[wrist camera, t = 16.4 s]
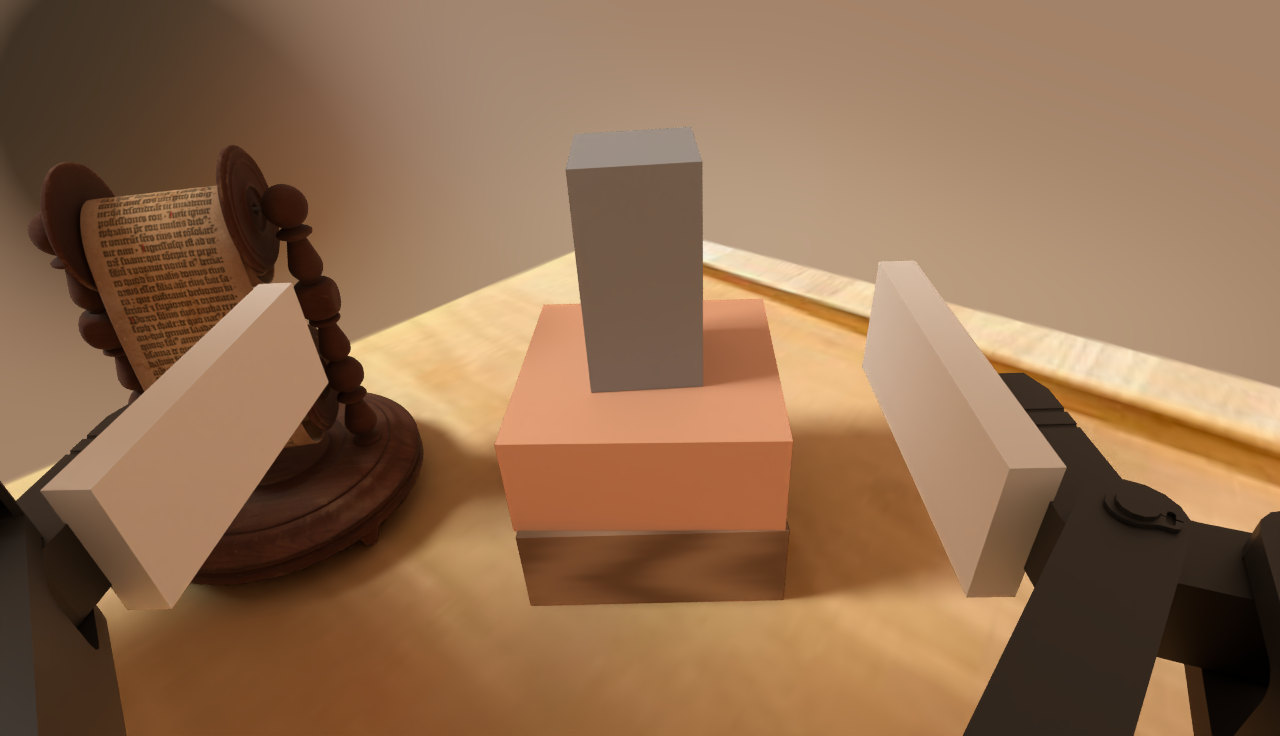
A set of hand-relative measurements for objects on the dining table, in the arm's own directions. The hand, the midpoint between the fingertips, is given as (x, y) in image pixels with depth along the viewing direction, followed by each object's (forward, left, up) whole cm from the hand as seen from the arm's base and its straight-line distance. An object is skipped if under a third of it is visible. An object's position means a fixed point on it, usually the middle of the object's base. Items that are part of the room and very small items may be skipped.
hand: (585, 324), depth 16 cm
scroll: (-20, +15, -20) cm, 32 cm away
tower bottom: (+1, +13, -20) cm, 24 cm away
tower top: (+1, +14, -15) cm, 20 cm away
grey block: (+1, +14, -10) cm, 17 cm away
